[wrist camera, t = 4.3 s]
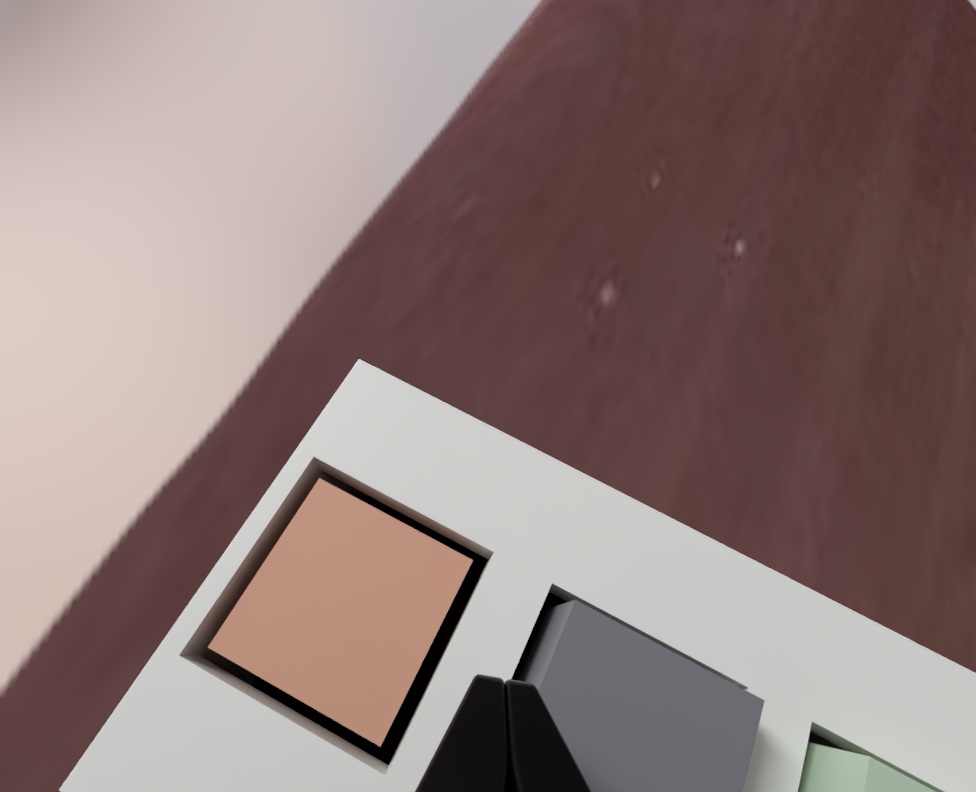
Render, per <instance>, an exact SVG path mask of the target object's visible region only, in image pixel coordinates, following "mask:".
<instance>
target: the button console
mask: <svg viewBox="0 0 976 792" xmlns="http://www.w3.org/2000/svg"><path fill="white" fill-rule="evenodd" d="M319 478H320V479H322V480H324V481H326V482H328V483H330V484H332V485H334V486H335V487H337V488H339V489H341V490H343V491H345V492H347V493H348V494H350V495H352V496H354V497H356V498H358V499H360V500H362V501H363V502H364V500H365V498H366V497H367V495H368V496H370V497H372V498H374V499H376V500H378V501H379V502H381V503H383V504H385V505H387V506H389V507H391V508H393V509H394V510H396V511H398V512H400V513H402V514H404V515H406V516H408V517H409V518H411V519H413V520H415V521H417V522H419V523H421V524H423V525H424V526H426V527H428V528H430V529H432V530H434V531H436V532H438V533H439V534H441V535H443V536H445V537H447V538H449V539H451V540H453V541H454V542H456V543H458V544H460V545H462V546H464V547H466V548H468V549H469V550H471V551H473V552H475V553H477V554H479V555H481V556H483V557H484V558H486V559H488V561H487V563H486V565H485V567H484V570H483V572H482V574H481V576H480V578H479V580H478V582H477V584H476V586H475V588H474V590H473V592H472V594H471V596H470V598H469V600H468V603H467V605H466V607H465V609H464V611H463V613H462V615H461V617H460V619H459V621H458V623H457V625H456V627H455V629H454V631H453V633H452V636H451V638H450V640H449V642H448V644H447V646H446V648H445V650H444V652H443V654H442V656H441V658H440V660H439V662H438V664H437V666H436V669H435V671H434V673H433V675H432V677H431V679H430V681H429V683H428V685H427V687H426V689H425V691H424V693H423V695H422V697H421V699H420V702H419V704H418V706H417V708H416V710H415V712H414V714H413V716H412V718H411V720H410V722H409V724H408V726H407V728H406V730H405V733H404V735H403V737H402V739H401V741H400V743H399V745H398V747H397V749H396V751H395V753H394V755H393V757H392V759H391V761H390V763H389V765H387V764H385V763H384V762H382V761H380V760H378V759H377V758H375V757H373V756H372V755H370V754H368V753H366V752H365V751H363V750H361V749H359V748H358V747H356V746H354V745H353V744H351V743H349V742H347V741H346V740H344V739H342V738H340V737H339V736H337V735H335V734H334V733H332V732H330V731H328V730H327V729H325V728H323V727H322V726H320V725H318V724H316V723H315V722H313V721H311V720H309V719H308V718H306V717H304V716H303V715H301V714H299V713H297V712H296V711H294V710H292V709H290V708H289V707H287V706H285V705H284V704H282V703H280V702H278V701H277V700H275V699H273V698H271V697H270V696H268V695H266V694H265V693H263V692H261V691H259V690H258V689H256V688H254V687H252V686H251V685H252V683H253V682H254V680H255V678H256V677H257V676H256V675H255V674H253V673H251V672H250V671H248V670H246V669H244V668H243V667H241V666H239V665H237V664H236V663H234V662H232V661H230V660H229V659H227V658H225V657H224V656H222V655H220V654H218V653H217V652H215V651H213V650H211V649H210V648H208V646H209V644H210V643H211V641H212V640H213V638H214V637H215V635H216V634H217V632H218V631H219V629H220V628H221V626H222V625H223V623H224V622H225V620H226V619H227V617H228V616H229V614H230V613H231V611H232V610H233V608H234V607H235V605H236V604H237V602H238V601H239V599H240V597H241V596H242V594H243V593H244V591H245V590H246V588H247V587H248V585H249V584H250V582H251V581H252V579H253V578H254V576H255V575H256V573H257V572H258V570H259V569H260V567H261V566H262V564H263V563H264V561H265V560H266V558H267V557H268V555H269V554H270V552H271V551H272V549H273V547H274V546H275V544H276V543H277V541H278V540H279V538H280V537H281V535H282V534H283V532H284V531H285V529H286V528H287V526H288V525H289V523H290V522H291V520H292V519H293V517H294V516H295V514H296V513H297V511H298V510H299V508H300V507H301V505H302V504H303V502H304V500H305V499H306V497H307V496H308V494H309V493H310V491H311V490H312V488H313V487H314V485H315V484H316V482H317V481H318V479H319ZM548 592H550V593H552V594H554V595H556V596H558V597H559V598H561V599H563V600H565V601H567V602H570V601H573V600H577V601H579V602H581V603H582V604H584V605H586V606H588V607H590V608H592V609H594V610H596V611H597V612H599V613H601V614H603V615H605V616H607V617H609V618H611V619H612V620H614V621H616V622H618V623H620V624H622V625H624V626H626V627H628V628H629V629H631V630H633V631H635V632H637V633H639V634H641V635H643V636H644V637H646V638H648V639H650V640H652V641H654V642H656V643H658V644H659V645H661V646H663V647H665V648H667V649H669V650H671V651H673V652H674V653H676V654H678V655H680V656H682V657H684V658H686V659H688V660H690V661H691V662H693V663H695V664H697V665H699V666H701V667H703V668H705V669H706V670H708V671H710V672H712V673H714V674H716V675H718V676H720V677H721V678H723V679H725V680H727V681H729V682H731V683H733V684H735V685H736V686H738V687H740V688H742V689H744V690H746V691H748V692H750V693H752V694H753V695H755V696H757V697H759V698H761V699H763V700H765V701H764V705H763V709H762V713H761V718H760V722H759V726H758V730H757V734H756V738H755V743H754V747H753V751H752V755H751V759H750V763H749V767H748V772H747V776H746V780H745V784H744V788H743V792H798V788H799V783H800V778H801V773H802V768H803V763H804V759H805V754H806V749H807V744H808V742H809V743H814V744H818V745H822V746H827V747H831V748H835V749H840V750H844V751H849V752H853V753H857V754H862V755H866V756H870V757H872V758H874V759H876V760H877V761H879V762H881V763H883V764H885V765H887V766H889V767H891V768H892V769H894V770H896V771H898V772H900V773H902V774H904V775H906V776H907V777H909V778H911V779H913V780H915V781H917V782H919V783H921V784H923V785H924V786H926V787H928V788H930V789H932V790H934V791H936V792H976V673H974V672H972V671H970V670H968V669H966V668H965V667H963V666H961V665H959V664H957V663H955V662H953V661H951V660H949V659H947V658H945V657H943V656H941V655H939V654H937V653H935V652H933V651H931V650H929V649H927V648H925V647H923V646H921V645H919V644H917V643H915V642H914V641H912V640H910V639H908V638H906V637H904V636H902V635H900V634H898V633H896V632H894V631H892V630H890V629H888V628H886V627H884V626H882V625H880V624H878V623H876V622H874V621H872V620H870V619H868V618H866V617H864V616H863V615H861V614H859V613H857V612H855V611H853V610H851V609H849V608H847V607H845V606H843V605H841V604H839V603H837V602H835V601H833V600H831V599H829V598H827V597H825V596H823V595H821V594H819V593H817V592H815V591H813V590H811V589H810V588H808V587H806V586H804V585H802V584H800V583H798V582H796V581H794V580H792V579H790V578H788V577H786V576H784V575H782V574H780V573H778V572H776V571H774V570H772V569H770V568H768V567H766V566H764V565H762V564H760V563H759V562H757V561H755V560H753V559H751V558H749V557H747V556H745V555H743V554H741V553H739V552H737V551H735V550H733V549H731V548H729V547H727V546H725V545H723V544H721V543H719V542H717V541H715V540H713V539H711V538H709V537H708V536H706V535H704V534H702V533H700V532H698V531H696V530H694V529H692V528H690V527H688V526H686V525H684V524H682V523H680V522H678V521H676V520H674V519H672V518H670V517H668V516H666V515H664V514H662V513H660V512H658V511H656V510H655V509H653V508H651V507H649V506H647V505H645V504H643V503H641V502H639V501H637V500H635V499H633V498H631V497H629V496H627V495H625V494H623V493H621V492H619V491H617V490H615V489H613V488H611V487H609V486H607V485H605V484H604V483H602V482H600V481H598V480H596V479H594V478H592V477H590V476H588V475H586V474H584V473H582V472H580V471H578V470H576V469H574V468H572V467H570V466H568V465H566V464H564V463H562V462H560V461H558V460H556V459H554V458H553V457H551V456H549V455H547V454H545V453H543V452H541V451H539V450H537V449H535V448H533V447H531V446H529V445H527V444H525V443H523V442H521V441H519V440H517V439H515V438H513V437H511V436H509V435H507V434H505V433H503V432H501V431H500V430H498V429H496V428H494V427H492V426H490V425H488V424H486V423H484V422H482V421H480V420H478V419H476V418H474V417H472V416H470V415H468V414H466V413H464V412H462V411H460V410H458V409H456V408H454V407H452V406H450V405H449V404H447V403H445V402H443V401H441V400H439V399H437V398H435V397H433V396H431V395H429V394H427V393H425V392H423V391H421V390H419V389H417V388H415V387H413V386H411V385H409V384H407V383H405V382H403V381H401V380H399V379H397V378H396V377H394V376H392V375H390V374H388V373H386V372H384V371H382V370H380V369H378V368H376V367H374V366H372V365H370V364H368V363H366V362H364V361H362V360H360V359H359V360H358V361H357V362H356V364H355V365H354V367H353V368H352V370H351V371H350V372H349V374H348V375H347V377H346V378H345V380H344V381H343V383H342V384H341V385H340V387H339V388H338V390H337V391H336V393H335V394H334V395H333V397H332V398H331V400H330V401H329V403H328V404H327V405H326V407H325V408H324V410H323V411H322V413H321V414H320V416H319V417H318V418H317V420H316V421H315V423H314V424H313V426H312V427H311V428H310V430H309V431H308V433H307V434H306V436H305V437H304V439H303V440H302V441H301V443H300V444H299V446H298V447H297V449H296V450H295V451H294V453H293V454H292V456H291V457H290V459H289V460H288V462H287V463H286V464H285V466H284V467H283V469H282V470H281V472H280V473H279V474H278V476H277V477H276V479H275V480H274V482H273V483H272V485H271V486H270V487H269V489H268V490H267V492H266V493H265V495H264V496H263V497H262V499H261V500H260V502H259V503H258V505H257V506H256V508H255V509H254V510H253V512H252V513H251V515H250V516H249V518H248V519H247V520H246V522H245V523H244V525H243V526H242V528H241V529H240V530H239V532H238V533H237V535H236V536H235V538H234V539H233V541H232V542H231V543H230V545H229V546H228V548H227V549H226V551H225V552H224V553H223V555H222V556H221V558H220V559H219V561H218V562H217V564H216V565H215V566H214V568H213V569H212V571H211V572H210V574H209V575H208V576H207V578H206V579H205V581H204V582H203V584H202V585H201V587H200V588H199V589H198V591H197V592H196V594H195V595H194V597H193V598H192V599H191V601H190V602H189V604H188V605H187V607H186V608H185V610H184V611H183V612H182V614H181V615H180V617H179V618H178V620H177V621H176V622H175V624H174V625H173V627H172V628H171V630H170V631H169V633H168V634H167V635H166V637H165V638H164V640H163V641H162V643H161V644H160V645H159V647H158V648H157V650H156V651H155V653H154V654H153V655H152V657H151V658H150V660H149V661H148V663H147V664H146V666H145V667H144V668H143V670H142V671H141V673H140V674H139V676H138V677H137V678H136V680H135V681H134V683H133V684H132V686H131V687H130V689H129V690H128V691H127V693H126V694H125V696H124V697H123V699H122V700H121V701H120V703H119V704H118V706H117V707H116V709H115V710H114V712H113V713H112V714H111V716H110V717H109V719H108V720H107V722H106V723H105V724H104V726H103V727H102V729H101V730H100V732H99V733H98V735H97V736H96V737H95V739H94V740H93V742H92V743H91V745H90V746H89V747H88V749H87V750H86V752H85V753H84V755H83V756H82V758H81V759H80V760H79V762H78V763H77V765H76V766H75V768H74V769H73V770H72V772H71V773H70V775H69V776H68V778H67V779H66V781H65V782H64V783H63V785H62V786H61V788H60V789H59V791H61V792H415V791H416V789H417V787H418V785H419V783H420V781H421V779H422V777H423V775H424V773H425V771H426V769H427V767H428V765H429V763H430V761H431V759H432V758H433V756H434V754H435V752H436V750H437V748H438V746H439V744H440V742H441V740H442V738H443V736H444V734H445V732H446V730H447V728H448V726H449V724H450V723H451V721H452V719H453V717H454V715H455V713H456V711H457V709H458V707H459V705H460V703H461V701H462V699H463V697H464V695H465V693H466V691H467V689H468V688H469V686H470V684H471V682H472V680H473V678H474V677H475V676H476V675H477V674H482V675H488V676H493V677H499V678H502V679H503V681H504V683H505V681H507V680H509V679H512V676H513V674H514V672H515V669H516V667H517V665H518V662H519V660H520V658H521V655H522V653H523V650H524V648H525V646H526V643H527V641H528V639H529V636H530V634H531V632H532V629H533V627H534V625H535V622H536V620H537V618H538V615H539V613H540V611H541V608H542V606H543V604H544V601H545V599H546V597H547V594H548Z"/></svg>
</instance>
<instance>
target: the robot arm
mask: <svg viewBox="0 0 976 792" xmlns="http://www.w3.org/2000/svg"><path fill="white" fill-rule="evenodd" d="M415 792H591V790H590V788H589V786H588V784H587V782H586V780H585V778H584V776H583V775H582V773H581V771H580V769H579V767H578V765H577V763H576V761H575V759H574V758H573V756H572V754H571V752H570V750H569V748H568V746H567V744H566V742H565V741H564V739H563V737H562V735H561V733H560V731H559V729H558V727H557V725H556V724H555V722H554V720H553V718H552V716H551V714H550V712H549V710H548V708H547V707H546V705H545V703H544V701H543V699H542V697H541V695H540V693H539V691H538V689H537V688H536V686H535V685H534V684H532V683H529V682H523V681H517V680H511V679H509V680H507V681H505V683H504V681H503V679H502V678H499V677H493V676H488V675H482V674H477V675H476V676H475V677H474V678H473V680H472V682H471V684H470V686H469V688H468V689H467V691H466V693H465V695H464V697H463V699H462V701H461V703H460V705H459V707H458V709H457V711H456V713H455V715H454V717H453V719H452V721H451V723H450V724H449V726H448V728H447V730H446V732H445V734H444V736H443V738H442V740H441V742H440V744H439V746H438V748H437V750H436V752H435V754H434V756H433V758H432V759H431V761H430V763H429V765H428V767H427V769H426V771H425V773H424V775H423V777H422V779H421V781H420V783H419V785H418V787H417V789H416V791H415Z"/></svg>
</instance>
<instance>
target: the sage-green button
mask: <svg viewBox="0 0 976 792" xmlns="http://www.w3.org/2000/svg"><path fill="white" fill-rule="evenodd" d="M798 792H936V791H934V790H932V789H930V788H928V787H926V786H924V785H923V784H921V783H919V782H917V781H915V780H913V779H911V778H909V777H907V776H906V775H904V774H902V773H900V772H898V771H896V770H894V769H892V768H891V767H889V766H887V765H885V764H883V763H881V762H879V761H877V760H876V759H874V758H872V757H870V756H866V755H862V754H857V753H853V752H849V751H844V750H840V749H835V748H831V747H827V746H822V745H818V744H814V743H809V742H808V744H807V749H806V754H805V759H804V763H803V768H802V773H801V778H800V783H799V788H798Z"/></svg>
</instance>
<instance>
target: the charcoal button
mask: <svg viewBox="0 0 976 792" xmlns="http://www.w3.org/2000/svg"><path fill="white" fill-rule="evenodd" d="M517 681H523V682H529V683H532V684H534V685H535V686H536V688H537V689H538V691H539V693H540V695H541V697H542V699H543V701H544V703H545V705H546V707H547V708H548V710H549V712H550V714H551V716H552V718H553V720H554V722H555V724H556V725H557V727H558V729H559V731H560V733H561V735H562V737H563V739H564V741H565V742H566V744H567V746H568V748H569V750H570V752H571V754H572V756H573V758H574V759H575V761H576V763H577V765H578V767H579V769H580V771H581V773H582V775H583V776H584V778H585V780H586V782H587V784H588V786H589V788H590V790H591V792H743V788H744V784H745V780H746V776H747V772H748V767H749V763H750V759H751V755H752V751H753V747H754V743H755V738H756V734H757V730H758V726H759V722H760V718H761V713H762V709H763V705H764V701H765V700H763V699H761V698H759V697H757V696H755V695H753V694H752V693H750V692H748V691H746V690H744V689H742V688H740V687H738V686H736V685H735V684H733V683H731V682H729V681H727V680H725V679H723V678H721V677H720V676H718V675H716V674H714V673H712V672H710V671H708V670H706V669H705V668H703V667H701V666H699V665H697V664H695V663H693V662H691V661H690V660H688V659H686V658H684V657H682V656H680V655H678V654H676V653H674V652H673V651H671V650H669V649H667V648H665V647H663V646H661V645H659V644H658V643H656V642H654V641H652V640H650V639H648V638H646V637H644V636H643V635H641V634H639V633H637V632H635V631H633V630H631V629H629V628H628V627H626V626H624V625H622V624H620V623H618V622H616V621H614V620H612V619H611V618H609V617H607V616H605V615H603V614H601V613H599V612H597V611H596V610H594V609H592V608H590V607H588V606H586V605H584V604H582V603H581V602H579V601H577V600H573V601H570V602H567V603H564V604H561V605H558V606H555V607H552V608H549V609H547V611H546V613H545V615H544V618H543V620H542V622H541V625H540V627H539V630H538V632H537V634H536V637H535V639H534V641H533V644H532V646H531V648H530V651H529V653H528V656H527V658H526V660H525V663H524V665H523V667H522V670H521V672H520V675H519V677H518V679H517Z"/></svg>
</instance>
